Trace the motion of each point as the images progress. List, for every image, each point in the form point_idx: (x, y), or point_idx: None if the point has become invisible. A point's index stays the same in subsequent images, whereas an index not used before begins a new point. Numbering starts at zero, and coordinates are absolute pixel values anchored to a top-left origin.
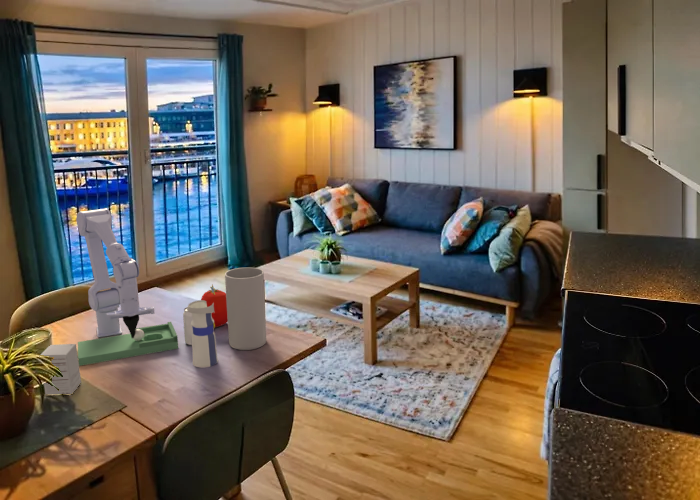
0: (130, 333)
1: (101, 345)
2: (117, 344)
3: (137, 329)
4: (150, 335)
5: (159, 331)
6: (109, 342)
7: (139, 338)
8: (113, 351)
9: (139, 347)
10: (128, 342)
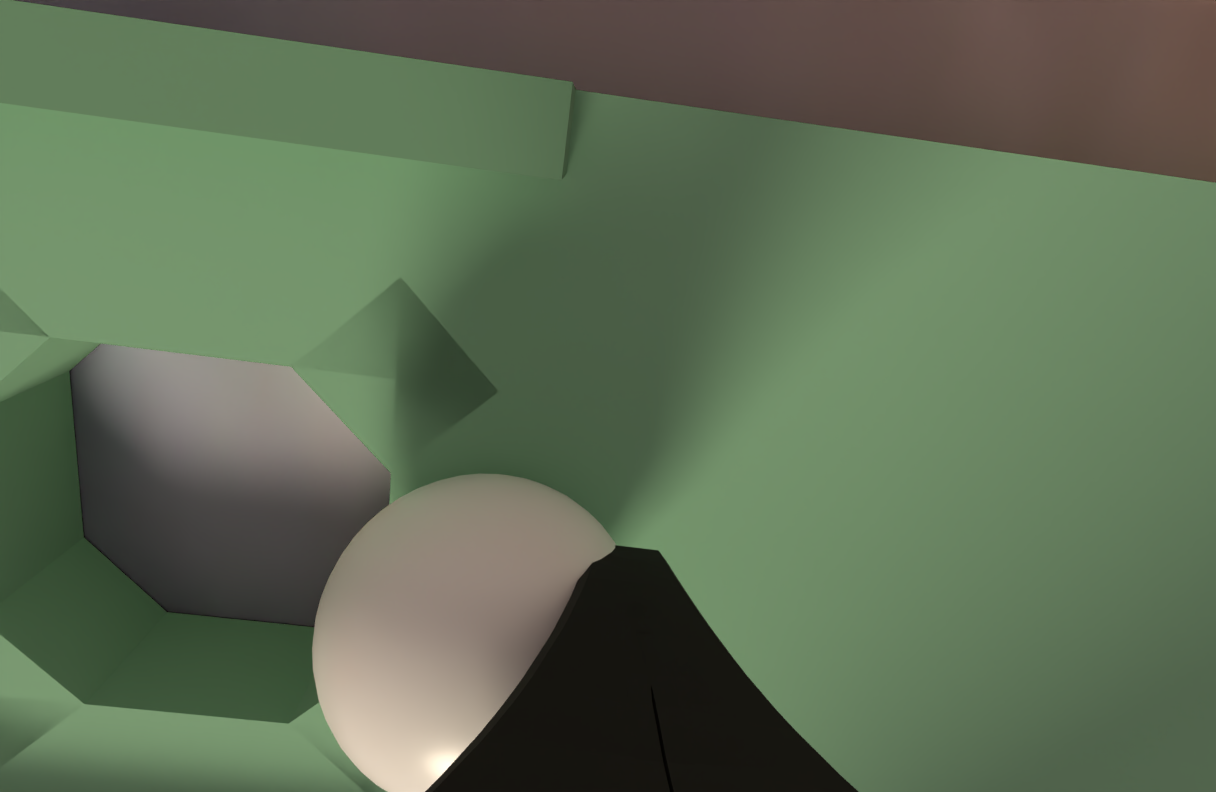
0: (706, 623)
1: (1202, 683)
2: (939, 572)
3: (456, 751)
4: (231, 702)
5: (26, 774)
6: (1026, 741)
7: (484, 477)
8: (1156, 238)
9: (574, 98)
10: (716, 559)
